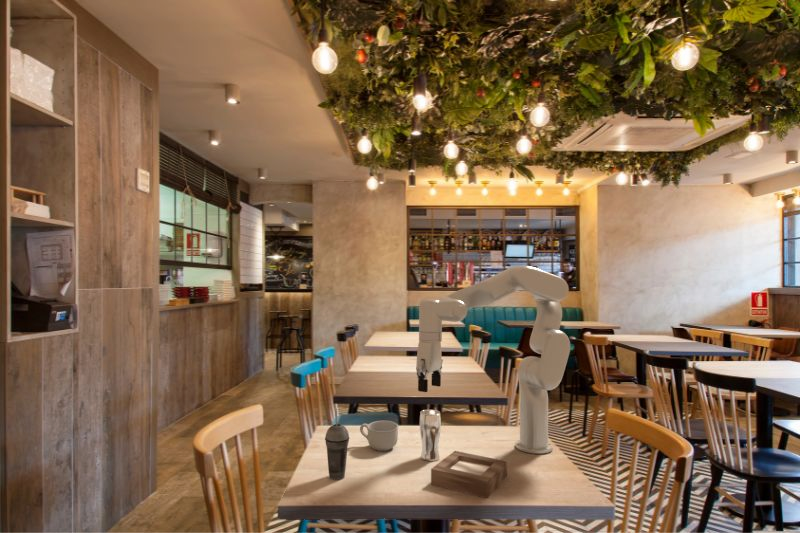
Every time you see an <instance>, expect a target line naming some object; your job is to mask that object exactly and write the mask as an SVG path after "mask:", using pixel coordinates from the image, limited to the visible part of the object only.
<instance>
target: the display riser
mask: <svg viewBox="0 0 800 533" xmlns="http://www.w3.org/2000/svg"><path fill="white" fill-rule="evenodd" d="M507 477H508V461H507V460H503V459H499V458H495V457H494V458H493V457H489V456H482V455H478V454H472V453H468V452H463V451H457V450H454V451H452V452H451V453H449V455H447V456H446V457H445V458H443V459H442V460H441V461H439V462H438V463H437V464H436V465H434V466H433V467H431V469H430V485H432V486H435V487H439V488H443V489H448V490H452V491H456V492H461V493H464V494H469V495H473V496H477V497H481V498H485V499H488V498H490V496H491V495H492V494H493V492H494V491H495V490H496V489H497V488H498V487H499V486H500V485H501V484H502V483H503V481H504V480H505V479H506V478H507Z"/></svg>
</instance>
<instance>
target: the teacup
mask: <svg viewBox="0 0 800 533" xmlns="http://www.w3.org/2000/svg"><path fill="white" fill-rule="evenodd" d="M364 427H365V428H366V430H367V433H366V432H365V430H364ZM398 430H399V424H398V423H396V422H395V421H391V420H376V421H372V422H370V423H362V424H360V427H359V432H360V434H361V435H362V436H363V437H364V438H365V439H366V440H367V441H368V445H369V446H370V447H372V449H374V450H375V451H378V452H386V451H390V450H392V449H393V448H394V447H395V446H396V445H397V443H398V439H399V438H398V437H399V431H398Z"/></svg>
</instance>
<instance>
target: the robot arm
mask: <svg viewBox="0 0 800 533" xmlns="http://www.w3.org/2000/svg"><path fill="white" fill-rule="evenodd" d="M520 291H523V292H525V291H526V292H529V293H530V295H531V297H532V298H533V300H534V301H535V304H536V308H537V311H536V312H537V313H536V317H535V322H534V324H533V328H532V332H531V334H530V338H529V347H530V349H531V350H532V351H533V352H535V353H537V354H539V355H541V356H540V357H537V356H533V355H530V356H526V357H524V358H522V359H521V360H520V361H519V363H518V365H517V380H518V384H519V385H518V386H519V439H517V441H515V445H514V446H515V448H516V449H517V450H519V451H521V452H524V453H529V454H535V455H537V454H539V455H541V454H548V453H551V452H552V451H553V448H554V446H553V444H552V443H551V442H549V396H548V394H549V393H548V391H552V390H554V389H557V388H558V386H559V385H560V383H561V382H562V379H563V376H564V373H565V371H566V366H567V363H568V359H569V356H570V353H571V341H570V339H569V337H568V335H567V334H566V332H564V331H562V330H560V327H561V323H562V320H563V319H562V318H563V308H562V305H561V301H564V300H565V299H566V298H567V296H568V294H569V291H570V290H569V285H568V283H567V281H566V280H565V279H564V278H562V277H560V276H558V275H555V274H552V273H550V272H547V271H544V270H542V269H539V268H537V267H535V266H529V265H515V266H510V267H509V268H507V269H505V270H502V271H501V272H498V273H496V274H494V275H493V276H490V277H489V278H486V279H484V280H482V281H479V282H475V283H474V284H472V285H469V286H467V287H464V288H461V289H459V290H456V291H454V292H452V293H450V294H448V295H446V296H444V297H442V298H441V299H433V298H432V299H430V298H429V299H427V298H426V299H425V298H424V299H422V300H420V302H419V305H418V306H419V308H418V309H419V310H418V311H419V312H418V313H419V318H418V319H419V320H418V345H417V352H416V353H417V354H416V367H415V370H416V375H417V381H418V382H417V383H418V384H417V391H418V392H421V393H422V392H423V393H428V391H429V390H428V389H429V388H428V387H429V386H428V385H429V384H428V383H429V381H428V380H429V379H428V375H429V374H431V386H433V387H441V383H442V382H441V381H442V377H441V376H442V375H441V374H442V369H443V359H442V358H443V357H442V342H443V341H442V337H443V334H442V333H443V332H442V331H443V329H442V328H443V321H445V322H452V323H457V322H458V323H459V322H461V321H463V320H464V319H465V318H466V317H467V314H468V310H469V309H473V308H475V307H483V306H488V305H492V304H496V303H497V302H499V301H501V300H504V299H505V298H507V297H509V296H511V295H514V294H515V293H518V292H520Z"/></svg>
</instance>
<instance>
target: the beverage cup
mask: <svg viewBox="0 0 800 533" xmlns="http://www.w3.org/2000/svg"><path fill="white" fill-rule="evenodd" d="M334 412H335V413H334V414H335V415H334V416H335V417H334V418H335V423H334V424H332V425H331V426H330V427H329V428H328V429H327V431H326V432H325V438H324V440H325V446H326V453H327V454H326V455H327V457H326V458H327V467H328V470H327V471H328V476H329V477H328V478H329V480H331V481H341V480H343V479H345V476H346V468H347V466H346V465H347V456H348V446H349V443H350V442H349V441H350V435H349V431H348V428H346V426H344V425H342V424H341V423H338V408H334Z"/></svg>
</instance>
